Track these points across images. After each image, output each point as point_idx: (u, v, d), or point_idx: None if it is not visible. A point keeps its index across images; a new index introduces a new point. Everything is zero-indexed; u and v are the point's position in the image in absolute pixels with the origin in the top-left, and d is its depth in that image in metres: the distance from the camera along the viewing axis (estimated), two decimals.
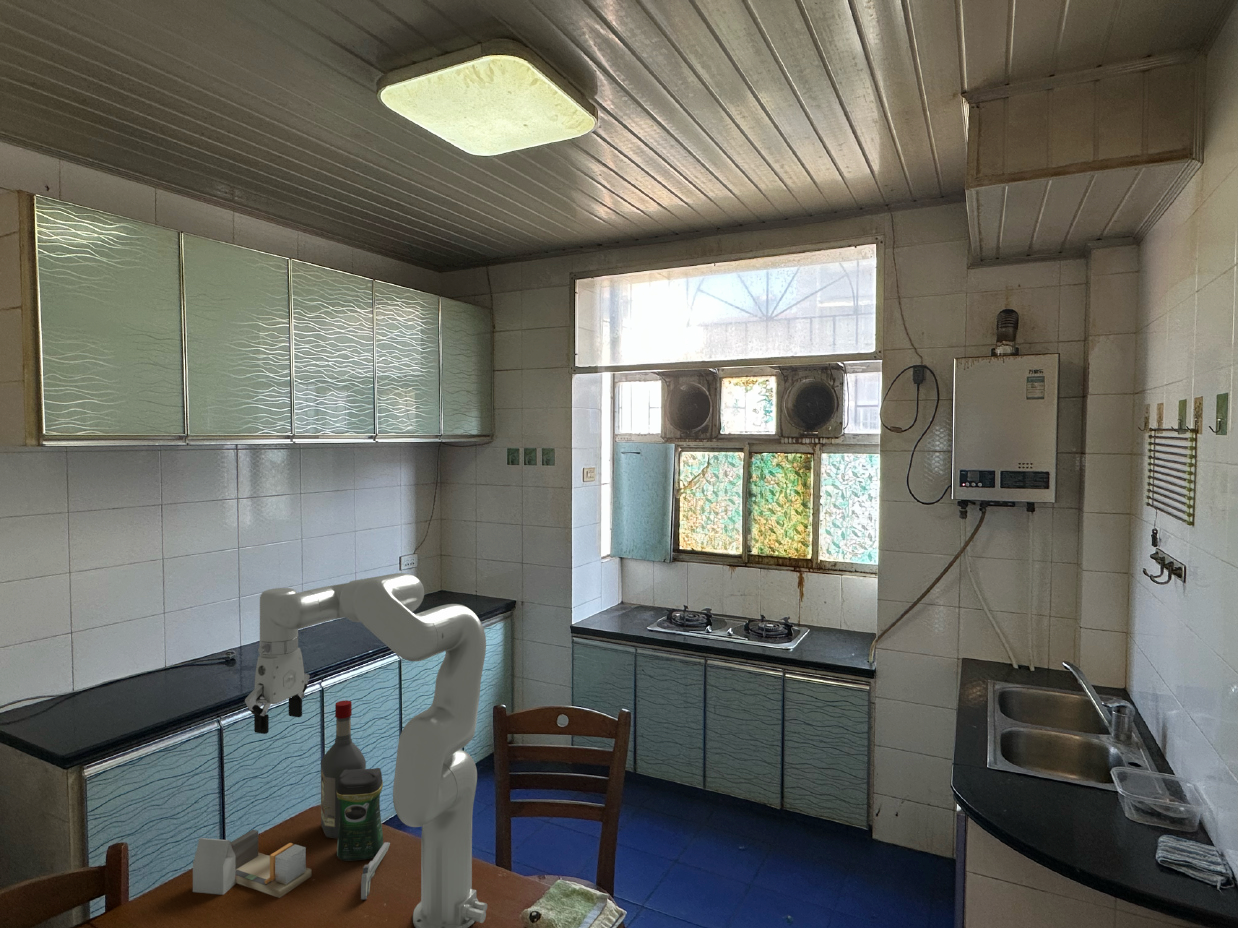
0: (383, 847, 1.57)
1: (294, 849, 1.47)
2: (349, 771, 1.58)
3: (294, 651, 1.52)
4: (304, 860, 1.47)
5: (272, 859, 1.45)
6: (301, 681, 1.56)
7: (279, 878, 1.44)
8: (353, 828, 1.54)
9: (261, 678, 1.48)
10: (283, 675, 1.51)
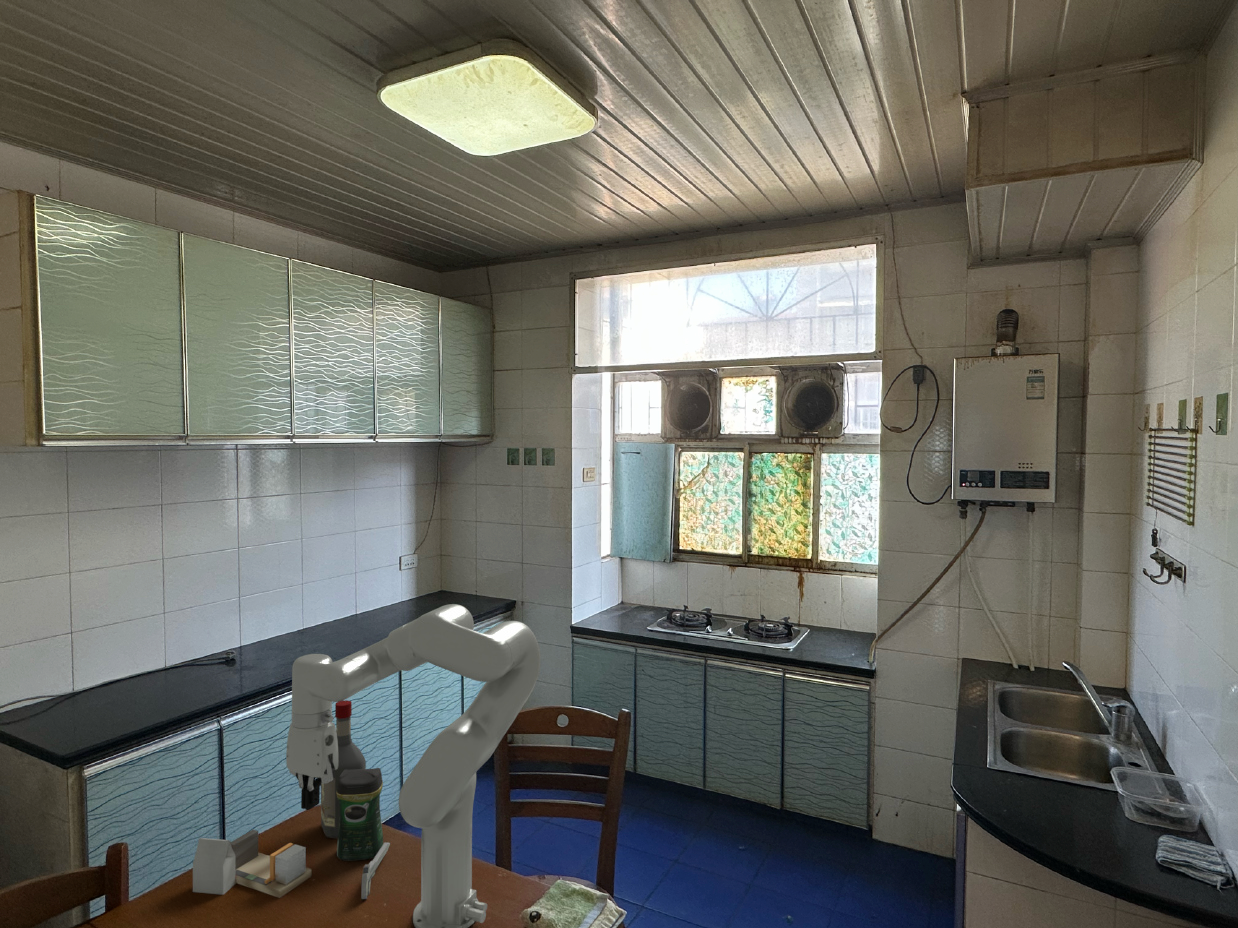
0: (383, 847, 1.57)
1: (294, 849, 1.47)
2: (349, 771, 1.58)
3: None
4: (304, 860, 1.47)
5: (272, 859, 1.45)
6: None
7: (279, 878, 1.44)
8: (353, 828, 1.54)
9: (330, 749, 1.41)
10: None
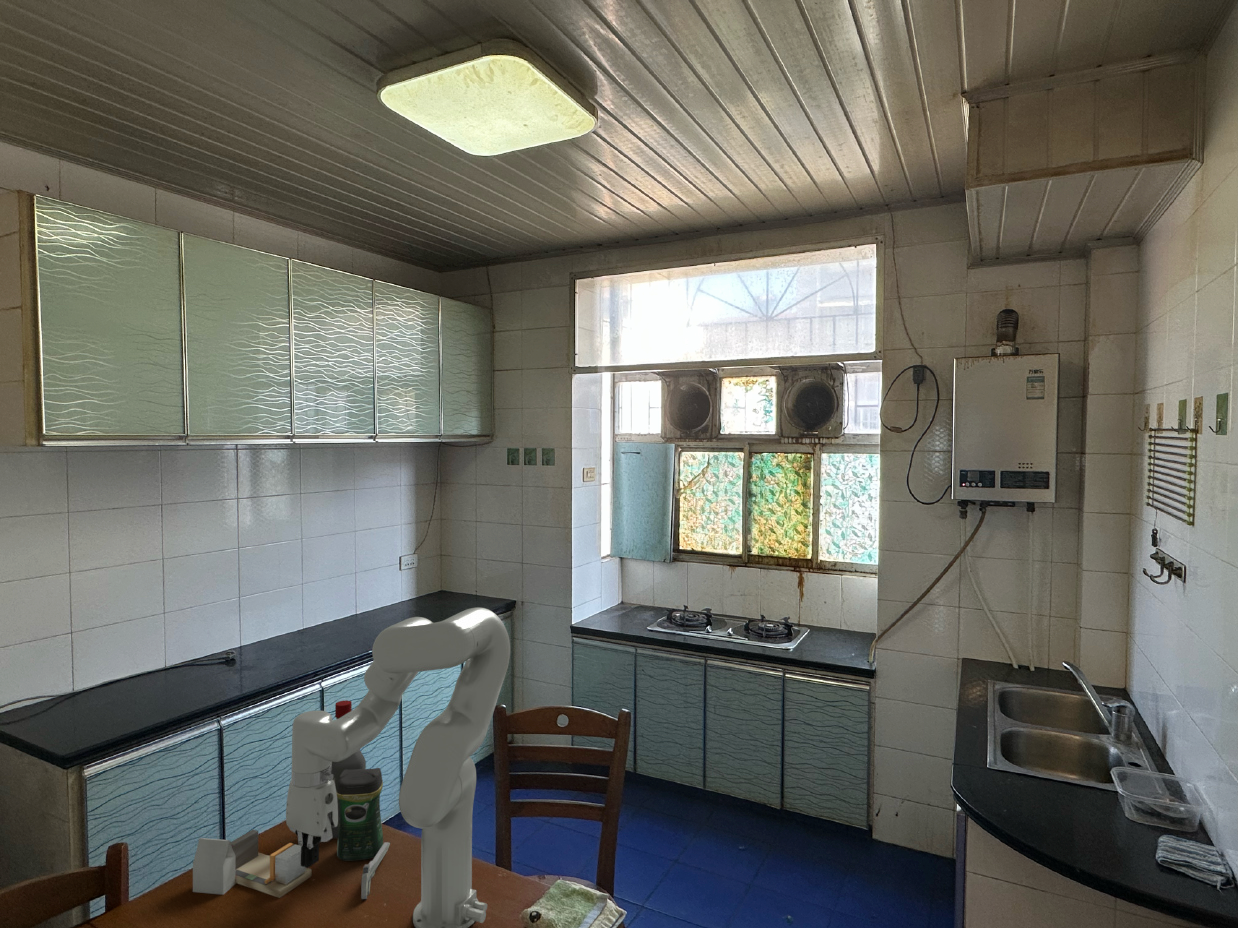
0: (383, 847, 1.57)
1: (294, 849, 1.47)
2: (349, 771, 1.58)
3: None
4: None
5: (272, 859, 1.45)
6: None
7: (279, 878, 1.44)
8: (353, 828, 1.54)
9: (329, 807, 1.42)
10: None
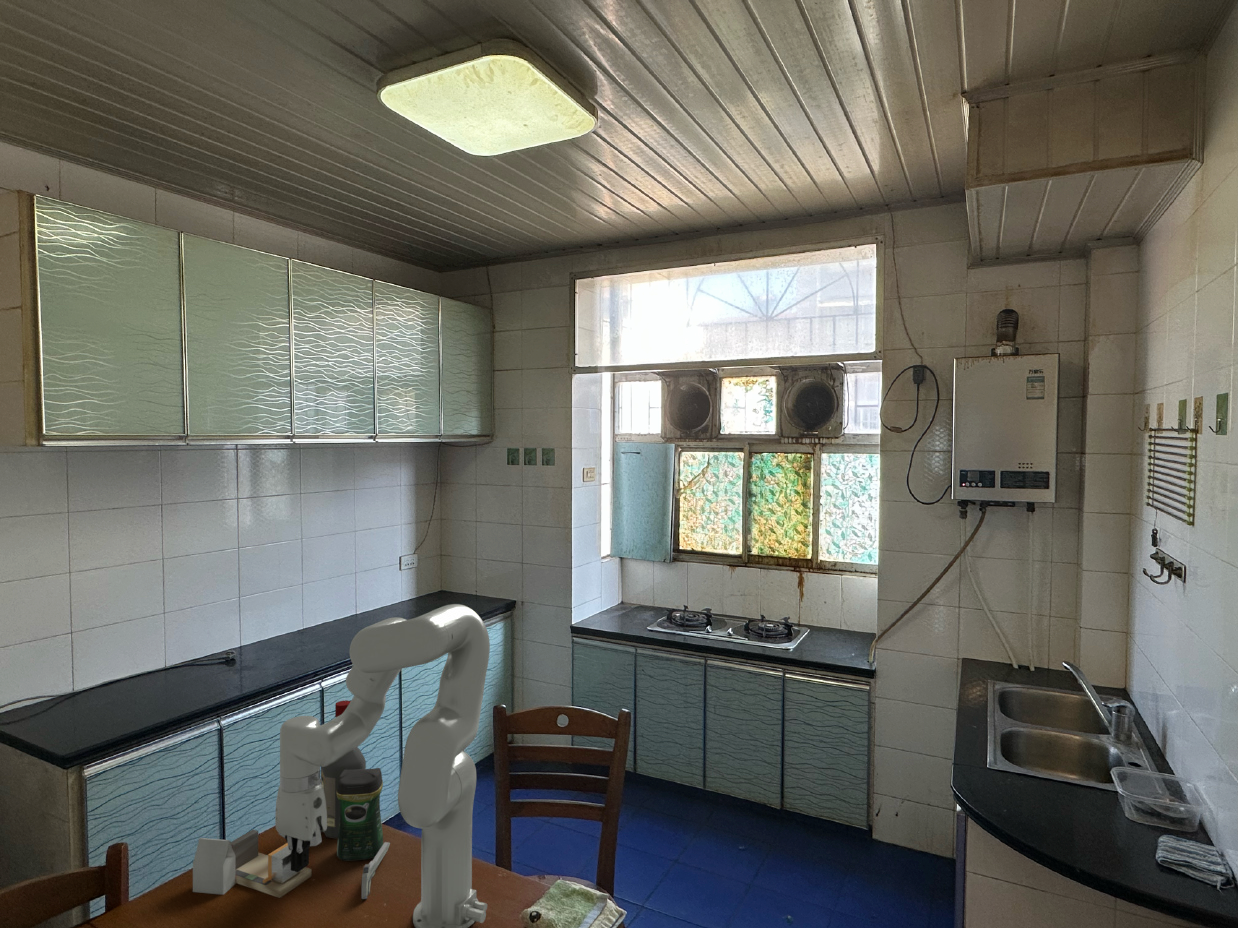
0: (383, 847, 1.57)
1: None
2: (349, 771, 1.58)
3: None
4: None
5: (270, 858, 1.45)
6: None
7: (275, 877, 1.44)
8: (353, 828, 1.54)
9: (318, 811, 1.43)
10: None
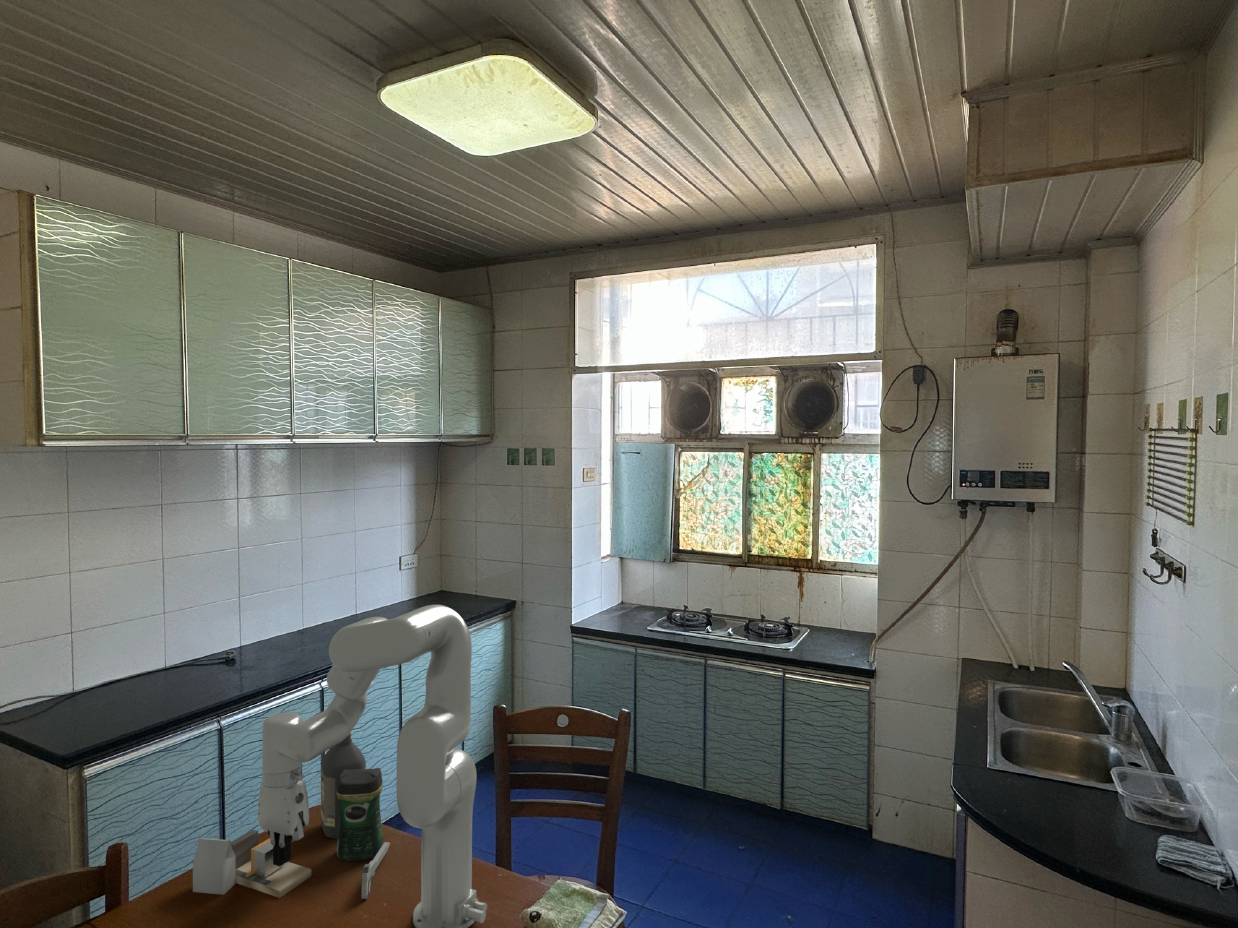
0: (383, 847, 1.57)
1: None
2: (349, 771, 1.58)
3: None
4: None
5: (253, 853, 1.47)
6: None
7: (258, 871, 1.46)
8: (353, 828, 1.54)
9: (300, 806, 1.45)
10: None
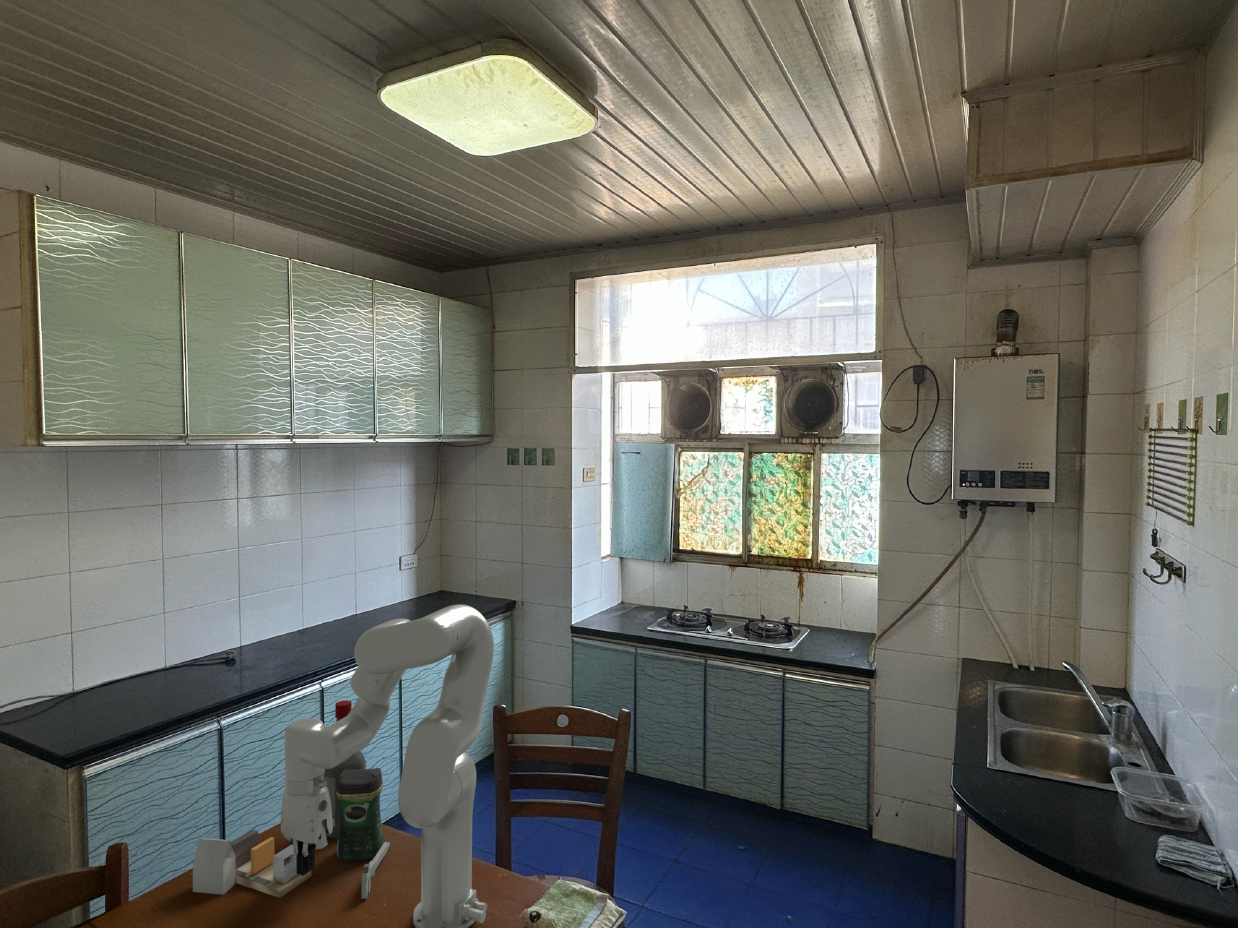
0: (383, 847, 1.57)
1: (292, 848, 1.47)
2: (349, 771, 1.58)
3: None
4: None
5: (253, 853, 1.47)
6: None
7: (277, 877, 1.44)
8: (353, 828, 1.54)
9: (323, 814, 1.42)
10: None
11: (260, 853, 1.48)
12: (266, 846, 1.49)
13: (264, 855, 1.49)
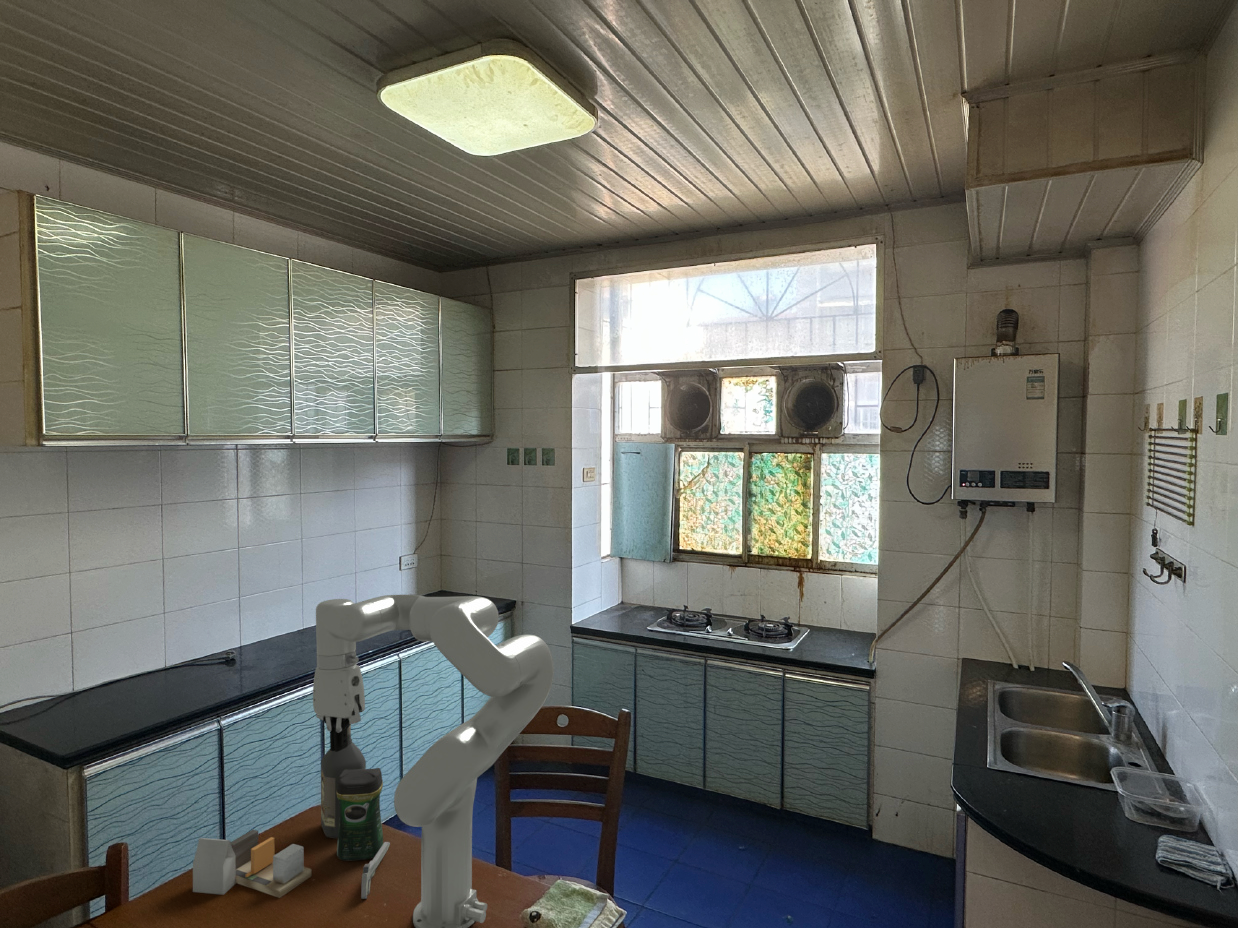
0: (383, 846, 1.57)
1: (292, 848, 1.47)
2: (349, 771, 1.58)
3: None
4: (302, 859, 1.48)
5: (253, 853, 1.47)
6: None
7: (277, 877, 1.44)
8: (353, 828, 1.54)
9: (356, 689, 1.44)
10: None
11: (260, 853, 1.48)
12: (266, 846, 1.49)
13: (264, 855, 1.49)
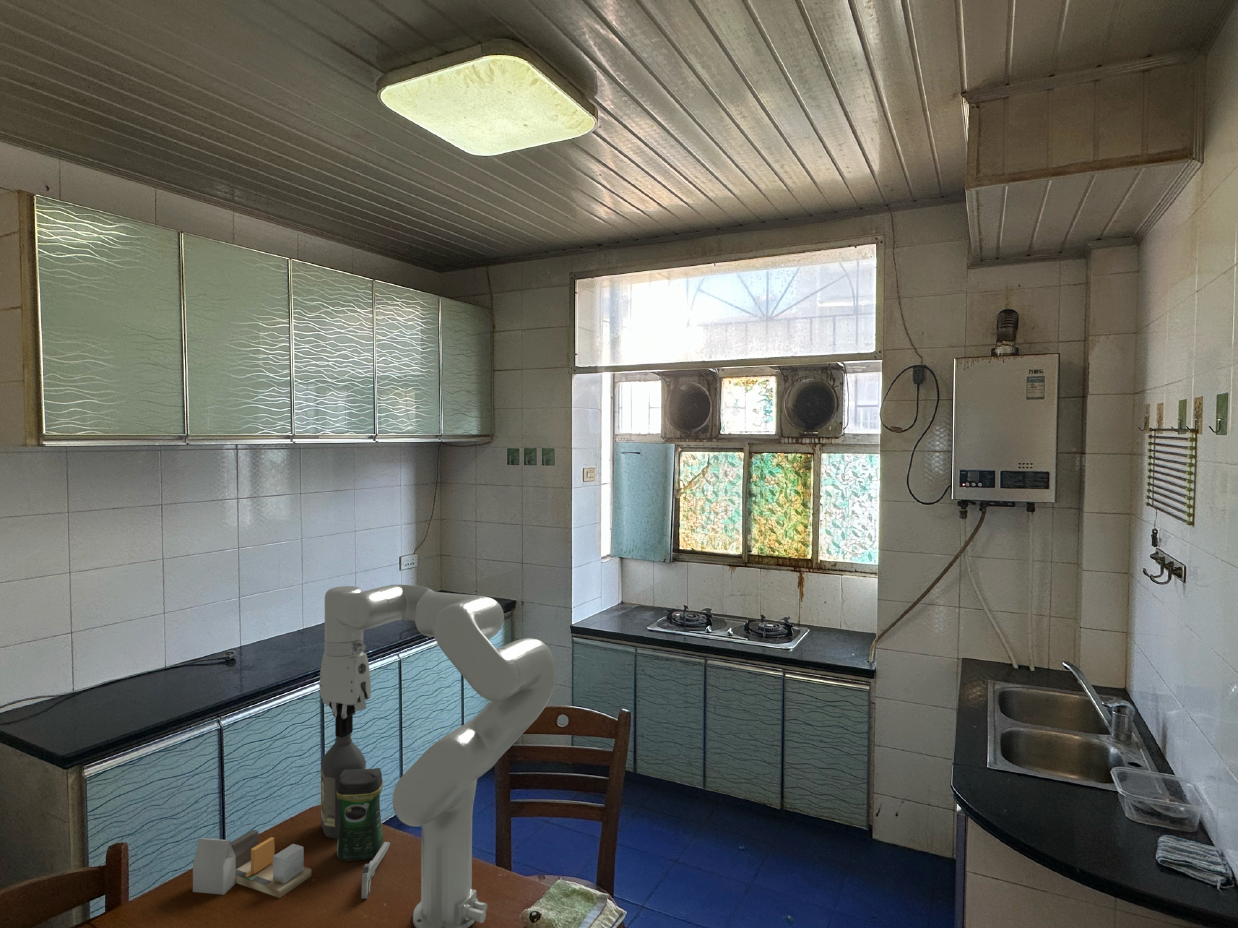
0: (383, 846, 1.57)
1: (292, 848, 1.47)
2: (349, 771, 1.58)
3: None
4: (302, 859, 1.48)
5: (253, 853, 1.47)
6: None
7: (277, 877, 1.44)
8: (353, 828, 1.54)
9: (362, 677, 1.44)
10: None
11: (260, 853, 1.48)
12: (266, 846, 1.49)
13: (264, 855, 1.49)
